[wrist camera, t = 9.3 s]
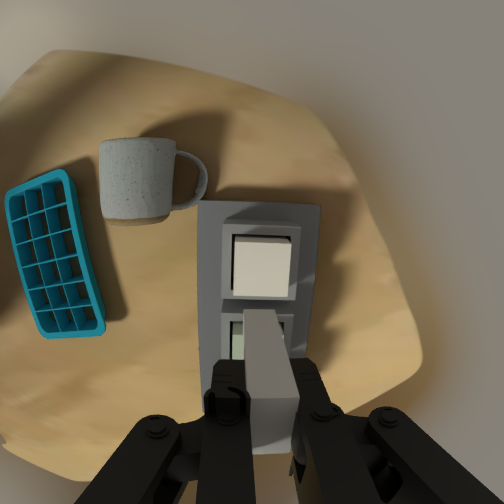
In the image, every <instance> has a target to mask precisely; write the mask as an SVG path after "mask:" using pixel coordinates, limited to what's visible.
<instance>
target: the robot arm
mask: <svg viewBox="0 0 504 504" xmlns="http://www.w3.org/2000/svg"><path fill="white" fill-rule="evenodd" d="M203 400H204V413H205V415H204V416H202V417H201V418H200V419H197V420H195V421H192V422H188V423H181V424H178V423H177V422H176V421H175V420H174V419H172V418H170V417H168V416H165V415H149V416H147V417H144V418H142V419H141V420H140V421H138V422H137V423H136V425H135V426H134V427H133V428H132V430H131V431H130V432H129V434H128V435H127V436H126V438H125V439H124V440H123V441H122V443H121V444H120V445H119V447H118V448H117V449H116V451H115V452H114V453H113V454H112V456H111V457H110V458H109V460H108V461H107V462H106V463H105V465H104V466H103V467H102V469H101V470H100V471H99V472H98V474H97V475H96V476H95V478H94V479H93V480H92V481H91V483H90V484H89V485H88V486H87V488H86V489H85V490H84V492H83V493H82V494H81V495H80V497H79V498H78V499H77V500H76V502H75V503H74V504H178V503H179V500H180V499H181V496H182V494H183V492H184V490H185V488H186V486H187V484H188V481H193V480H198V485H197V495H196V504H256V496H255V483H254V470H253V454H275V453H289V452H290V448H291V446H292V450H293V457H292V462H291V466H290V470H289V476H292V474H294V480H295V485H296V491H297V495H298V501H299V504H504V502H502V501H501V500H500V499H499V498H498V497H497V496H495V494H493V493H492V492H491V491H490V490H489V489H488V488H487V487H485V486H484V485H483V484H482V483H481V482H480V481H479V480H478V479H476V478H475V477H474V476H473V475H472V474H471V473H470V472H469V471H467V470H466V469H465V468H464V467H463V466H462V465H461V464H460V463H459V462H457V461H456V460H455V459H454V458H453V457H452V456H451V455H450V454H449V453H447V452H446V451H445V450H444V449H443V448H442V447H441V446H440V445H438V444H437V443H436V442H435V441H434V440H433V439H432V438H431V437H430V436H429V435H428V434H426V433H425V432H424V431H423V430H422V429H421V428H420V427H419V426H418V425H417V424H416V423H414V422H413V421H412V420H411V419H410V418H409V417H408V416H407V415H406V414H405V413H403V412H402V411H400V410H399V409H397V408H393V407H379V408H376V409H374V410H373V411H372V412H371V413H370V415H369V417H359V416H351V415H346V414H344V412H343V411H342V409H341V408H340V407H339V406H337V405H336V404H334V403H331V401H330V398H329V396H328V393H327V391H326V388H325V386H324V384H323V381H322V380H321V376H320V374H319V372H318V369H317V367H316V364H314V363H313V362H312V361H311V360H310V359H309V358H288V354H287V351H286V347H285V344H284V340H283V337H282V333H281V330H280V326H279V323H278V319H277V316H276V313H275V309H243V344H242V360H237V359H219V360H218V361H217V362H216V363H215V365H214V366H213V372H212V380H211V388H210V389H208V390H207V391H206V392H205V394H204V396H203Z"/></svg>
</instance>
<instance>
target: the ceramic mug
mask: <svg viewBox="0 0 504 504" xmlns="http://www.w3.org/2000/svg"><path fill="white" fill-rule="evenodd" d="M176 155H180V156H184V157H187V158H189V159H191V160H192V161H194V162H195V163H196V164H197V166H198V167H199V171H200V174H199V181H198V186H197V188H196V190H195V193H196V195H195V197H194V198H192V199H191V200H190V201H188V202H186V203H183V204H178V205H172V188H173V175H174V163H175V156H176ZM99 179H100V204H101V210H102V214H103V218H104V220H105V221H106V222H107V223H109V224H112V225H119V226H137V225H148V224H155V223H160V222H162V221H164V220H165V219H166V218H168V216H169V214H170V211H171V210H181V209H185V208H188V207H191V206H193V205H195V204H196V203H197V202H198V200H200V199H201V198H202V197H203V195H204V194H205V191H206V188H207V183H208V172H207V169H206V167H205V165H204V164H203V162H202V161H201V160H200V159H199V158H197V157H196V156H194V155H193V154H190V153H188V152H184V151H180V150H177V149H176V142H175V141H174V140H171V139H165V138H153V137H133V138H119V139H110V140H105V141H103V142H101V143H100V145H99Z"/></svg>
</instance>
